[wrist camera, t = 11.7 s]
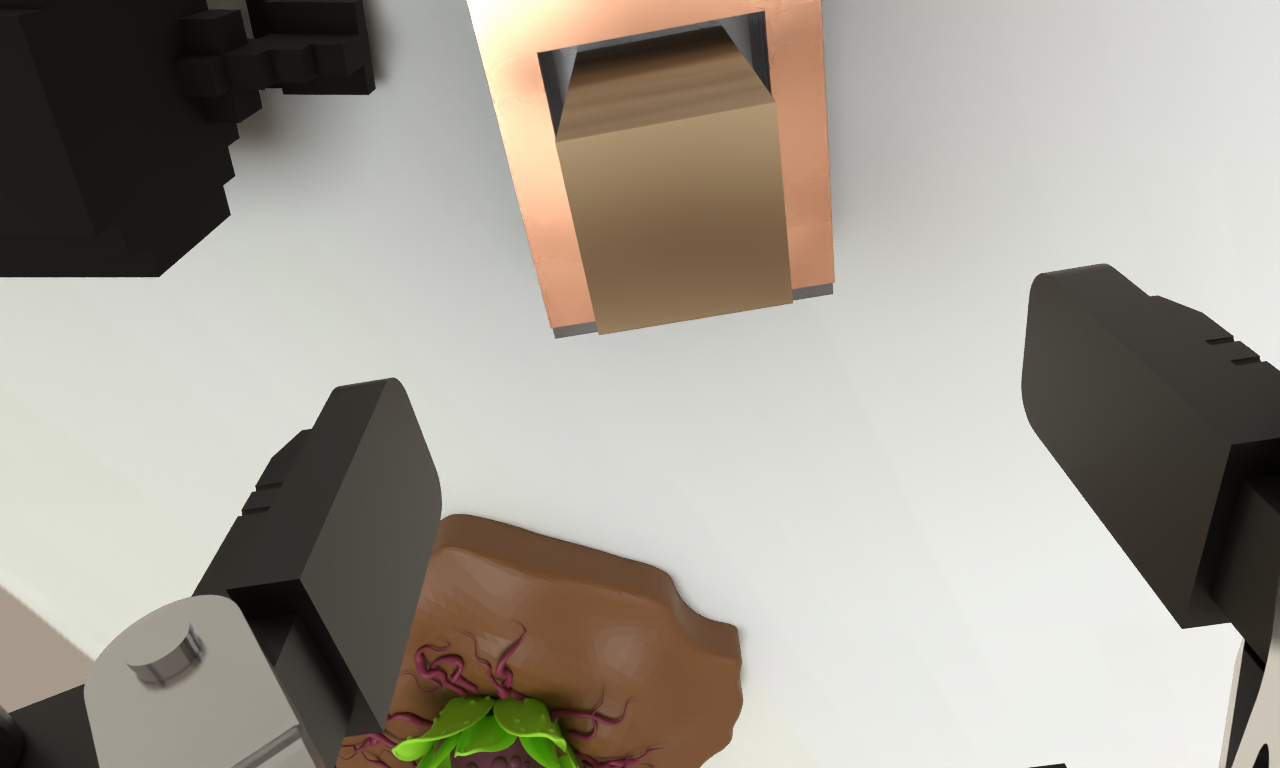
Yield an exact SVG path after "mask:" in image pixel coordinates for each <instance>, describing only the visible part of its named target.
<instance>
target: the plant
mask: <svg viewBox="0 0 1280 768" xmlns="http://www.w3.org/2000/svg"><path fill="white" fill-rule="evenodd" d="M741 664H742V658H741V651H740V645H739V638H738V631H737V628H736V627H735V626H733V625H731V624H727V623H723V622H718V621H714V620H710V619H707V618H705V617H703V616H701V615H699V614H697V613H696V612H694V611H693V610H692V609H691V608H690V607H689V606H688V605H687V604H686V603H685V602H684V601H683V600H682V599H681V597H680V596H679V594H678V592H677V591H676V588H675V586H674V583H673V581H672V579H671V577H670V576H669V575H668V574H667V573H666V572H664V571H662V570H660V569H658V568H656V567H654V566H651V565H648V564H645V563H642V562H637V561H633V560H629V559H625V558H622V557H619V556H615V555H612V554H609V553H606V552H603V551H599V550H595V549H592V548H588V547H585V546H581V545H577V544H573V543H570V542H566V541H562V540H558V539H554V538H550V537H547V536H544V535H540V534H537V533H534V532H531V531H528V530H525V529H522V528H519V527H516V526H512V525H509V524H505V523H502V522H498V521H494V520H490V519H486V518H482V517H477V516H472V515H466V514H454V515H450V516H448V517H446V518H444V519H443V520H441V521H440V522H439V526H438V529H437V533H436V537H435V541H434V544H433V548H432V552H431V556H430V559H429V563H428V567H427V571H426V574H425V578H424V582H423V586H422V589H421V593H420V597H419V601H418V604H417V608H416V612H415V616H414V619H413V623H412V627H411V631H410V635H409V638H408V642H407V646H406V650H405V653H404V657H403V661H402V665H401V668H400V672H399V676H398V680H397V683H396V687H395V691H394V695H393V698H392V702H391V706H390V710H389V713H388V717H387V721H386V725H385V728H384V732H380V733H373V734H365V735H358V736H350V737H344V739H343V742H342V745H341V749H340V752H339V755H338V758H337V762H336V765H337V767H338V768H700V767H701V766H702V764H703V763H704V762H705V761H707V760H708V759H709V758H711V757H712V756H713V755H715V754H716V753H718V752H720V751H721V750H723V749H724V748H725V747H726V746H727V745H728V744H729V743H730V741H731V740H732V735H733V727H734V724H735V723H736V721H737V719H738V717H739V715H740V712H741V709H742V705H743V694H742V688H741V682H740V669H741Z"/></svg>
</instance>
